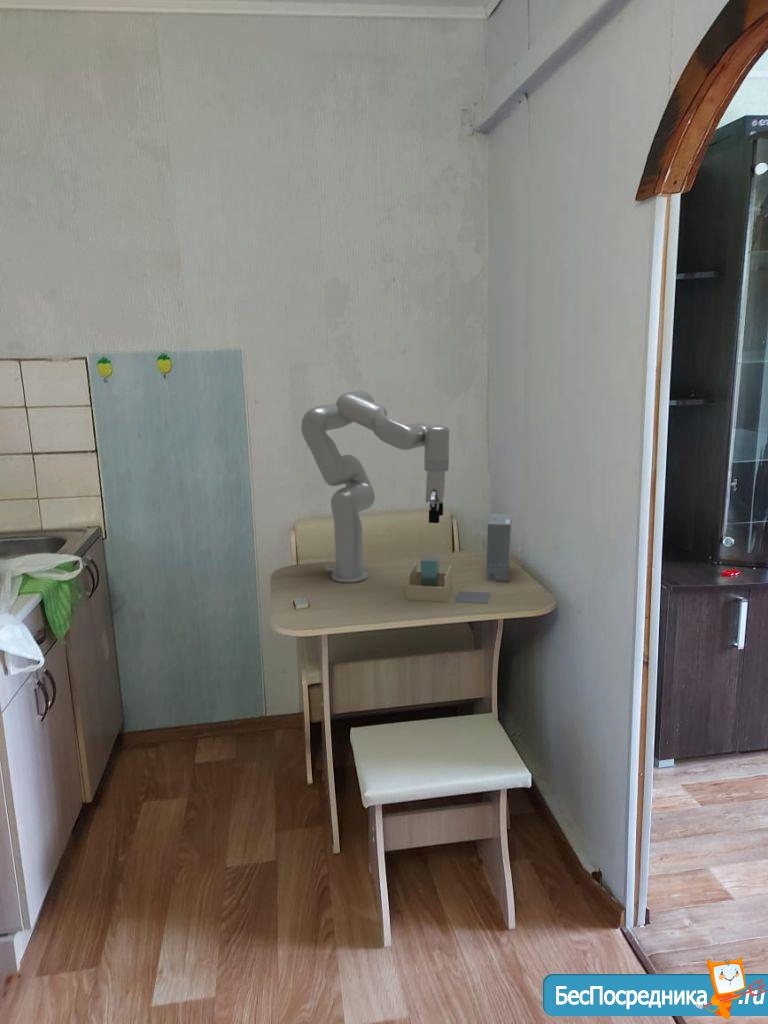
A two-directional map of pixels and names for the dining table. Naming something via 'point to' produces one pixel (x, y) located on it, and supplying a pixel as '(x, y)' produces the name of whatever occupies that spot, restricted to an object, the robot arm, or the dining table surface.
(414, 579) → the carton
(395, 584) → the dining table surface
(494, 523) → the hard drive box
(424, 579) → the tin
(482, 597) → the mat
